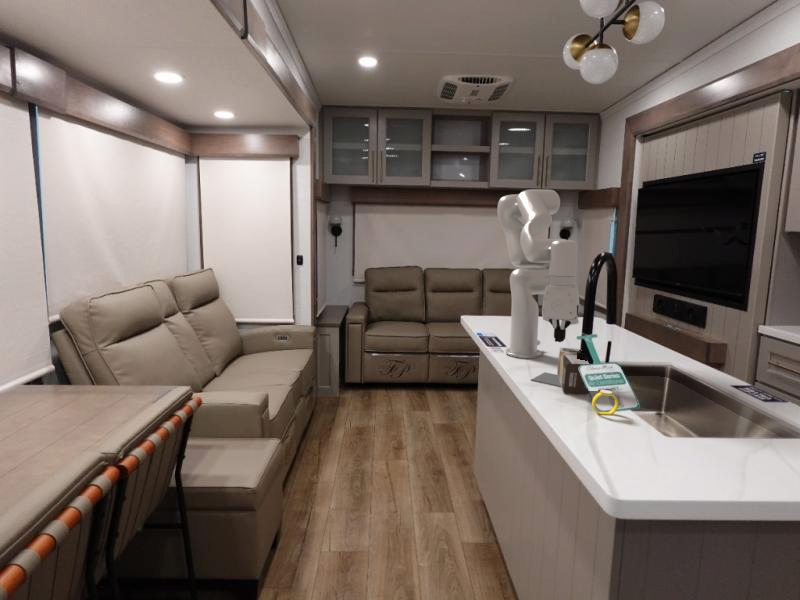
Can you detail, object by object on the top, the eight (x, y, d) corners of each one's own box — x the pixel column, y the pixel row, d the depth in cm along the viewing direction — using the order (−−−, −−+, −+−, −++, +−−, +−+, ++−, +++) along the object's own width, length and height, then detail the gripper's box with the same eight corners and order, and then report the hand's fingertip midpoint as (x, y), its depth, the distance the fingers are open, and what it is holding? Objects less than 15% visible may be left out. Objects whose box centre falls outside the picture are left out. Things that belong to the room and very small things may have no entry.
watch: (613, 413, 125) (617, 390, 124) (617, 417, 122) (621, 394, 121) (589, 411, 125) (592, 388, 124) (593, 415, 122) (596, 392, 121)
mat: (544, 373, 157) (544, 372, 157) (576, 379, 151) (576, 378, 151) (530, 380, 150) (530, 379, 150) (562, 387, 144) (562, 386, 143)
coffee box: (559, 347, 152) (566, 361, 136) (580, 348, 151) (590, 363, 135) (556, 375, 153) (563, 393, 138) (578, 377, 152) (587, 395, 137)
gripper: (533, 280, 150) (531, 339, 153) (582, 284, 141) (579, 347, 143) (544, 278, 156) (541, 335, 159) (592, 282, 146) (588, 342, 149)
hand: (559, 341), depth 151 cm, fingers closed
